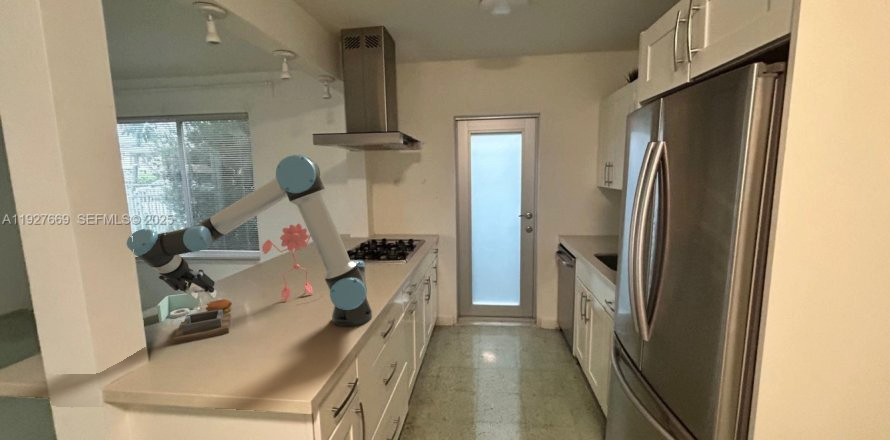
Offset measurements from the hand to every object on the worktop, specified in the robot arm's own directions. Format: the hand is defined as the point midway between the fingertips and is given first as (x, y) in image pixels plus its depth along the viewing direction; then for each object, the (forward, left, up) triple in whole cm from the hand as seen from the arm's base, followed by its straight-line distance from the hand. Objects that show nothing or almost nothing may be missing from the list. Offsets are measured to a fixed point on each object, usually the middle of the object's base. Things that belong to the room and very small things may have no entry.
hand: (205, 295), depth 132 cm
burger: (+15, -2, -13) cm, 19 cm away
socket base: (-3, +1, -12) cm, 13 cm away
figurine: (+12, -34, -12) cm, 38 cm away
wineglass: (-3, +2, -4) cm, 5 cm away
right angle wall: (+21, +11, -13) cm, 27 cm away
